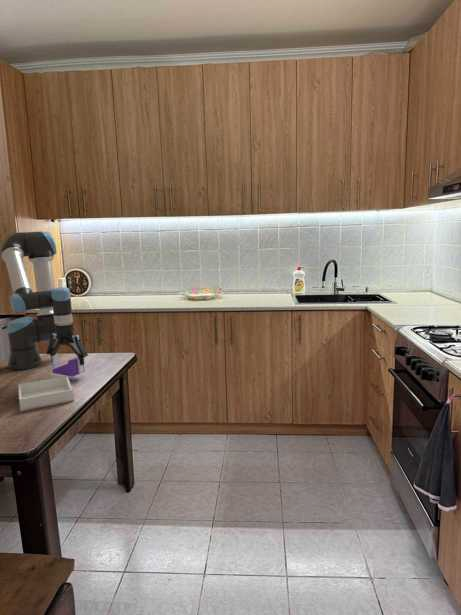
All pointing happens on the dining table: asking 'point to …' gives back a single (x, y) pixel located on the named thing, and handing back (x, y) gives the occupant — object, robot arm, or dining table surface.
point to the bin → (45, 393)
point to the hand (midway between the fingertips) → (68, 370)
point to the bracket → (68, 368)
